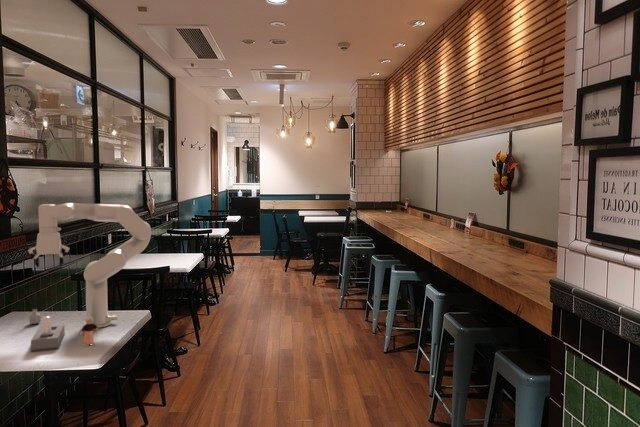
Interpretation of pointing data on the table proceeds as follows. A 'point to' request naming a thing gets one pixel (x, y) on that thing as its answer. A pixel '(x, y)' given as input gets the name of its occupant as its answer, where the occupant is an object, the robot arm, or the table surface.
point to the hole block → (48, 339)
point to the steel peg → (46, 326)
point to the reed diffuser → (34, 311)
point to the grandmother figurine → (88, 331)
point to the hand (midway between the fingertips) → (49, 266)
